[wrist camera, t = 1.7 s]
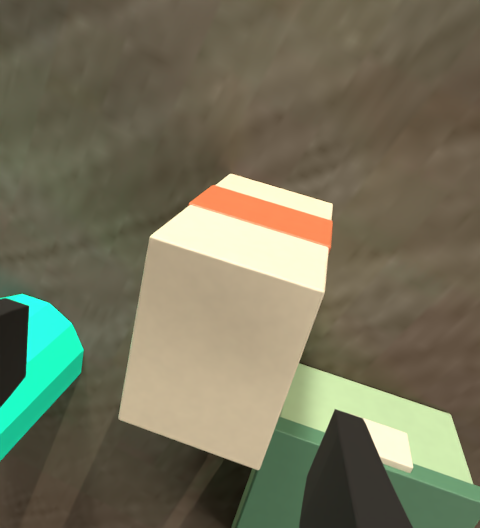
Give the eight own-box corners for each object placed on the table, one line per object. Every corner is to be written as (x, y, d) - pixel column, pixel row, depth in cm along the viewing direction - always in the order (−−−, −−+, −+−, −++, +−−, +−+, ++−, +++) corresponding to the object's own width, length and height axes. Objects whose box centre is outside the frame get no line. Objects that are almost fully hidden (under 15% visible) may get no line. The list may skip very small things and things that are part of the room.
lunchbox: (460, 406, 20) (494, 500, 16) (356, 585, 26) (359, 693, 21) (289, 349, 21) (274, 422, 16) (224, 535, 27) (199, 628, 22)
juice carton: (334, 202, 18) (327, 290, 10) (291, 328, 21) (260, 473, 13) (229, 171, 19) (147, 233, 11) (199, 297, 21) (115, 420, 13)
